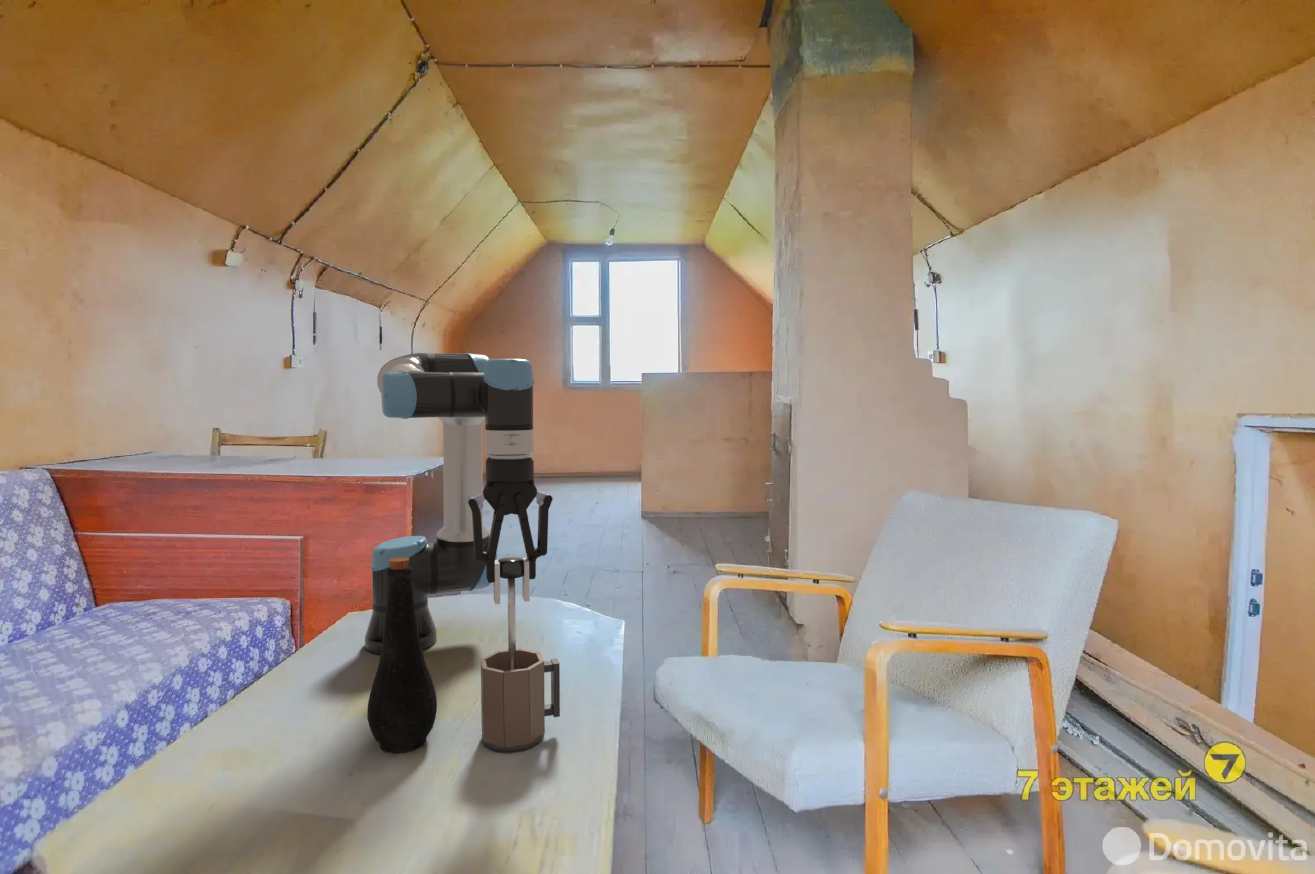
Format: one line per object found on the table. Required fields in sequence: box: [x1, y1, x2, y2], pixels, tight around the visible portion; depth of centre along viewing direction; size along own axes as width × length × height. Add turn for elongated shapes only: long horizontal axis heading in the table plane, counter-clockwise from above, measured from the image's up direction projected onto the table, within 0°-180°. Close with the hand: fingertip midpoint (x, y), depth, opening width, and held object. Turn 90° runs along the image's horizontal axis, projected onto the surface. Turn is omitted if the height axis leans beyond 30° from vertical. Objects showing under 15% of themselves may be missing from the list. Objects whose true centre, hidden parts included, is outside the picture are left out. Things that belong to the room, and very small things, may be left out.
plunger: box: [497, 556, 524, 670], centre depth 117 cm, size 7×7×21 cm
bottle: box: [367, 557, 438, 755], centre depth 116 cm, size 11×11×30 cm
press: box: [480, 648, 561, 754], centre depth 118 cm, size 10×12×13 cm
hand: (511, 600), depth 117 cm, fingers closed on plunger, 4 cm apart
